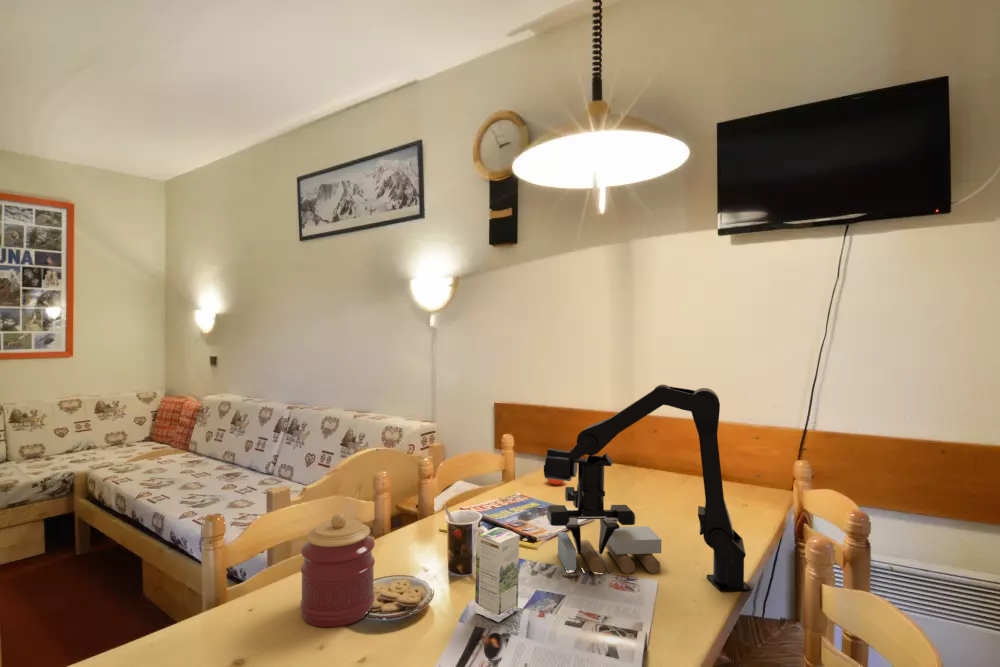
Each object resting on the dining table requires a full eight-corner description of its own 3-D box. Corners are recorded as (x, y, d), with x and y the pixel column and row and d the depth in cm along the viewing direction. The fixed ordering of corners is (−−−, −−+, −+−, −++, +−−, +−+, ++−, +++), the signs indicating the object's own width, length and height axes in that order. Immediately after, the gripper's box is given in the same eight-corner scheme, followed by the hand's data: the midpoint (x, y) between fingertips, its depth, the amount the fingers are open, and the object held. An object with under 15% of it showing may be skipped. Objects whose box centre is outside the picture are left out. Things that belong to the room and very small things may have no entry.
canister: (380, 592, 106) (381, 502, 106) (366, 629, 93) (366, 526, 93) (313, 593, 106) (313, 502, 105) (289, 629, 93) (290, 526, 92)
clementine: (541, 481, 185) (541, 460, 185) (560, 480, 187) (560, 459, 187) (550, 488, 178) (550, 466, 178) (569, 486, 180) (570, 465, 180)
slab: (661, 553, 118) (661, 539, 118) (616, 554, 117) (616, 540, 117) (648, 539, 125) (648, 526, 125) (605, 540, 125) (606, 527, 125)
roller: (604, 576, 114) (605, 561, 114) (590, 575, 114) (591, 561, 114) (591, 552, 126) (591, 540, 126) (578, 552, 126) (579, 539, 126)
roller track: (660, 572, 115) (660, 558, 115) (583, 575, 114) (583, 560, 114) (640, 550, 127) (641, 537, 127) (571, 551, 126) (571, 539, 126)
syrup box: (494, 601, 103) (495, 525, 103) (519, 612, 99) (519, 532, 99) (474, 613, 98) (474, 534, 98) (499, 625, 95) (500, 542, 94)
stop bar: (575, 573, 115) (576, 549, 115) (566, 573, 115) (566, 549, 115) (566, 553, 125) (566, 532, 125) (557, 554, 125) (558, 532, 125)
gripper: (621, 473, 129) (619, 539, 129) (543, 474, 128) (542, 540, 128) (636, 487, 118) (635, 558, 118) (552, 487, 116) (550, 560, 116)
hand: (589, 553), depth 120 cm, fingers open, 4 cm apart
